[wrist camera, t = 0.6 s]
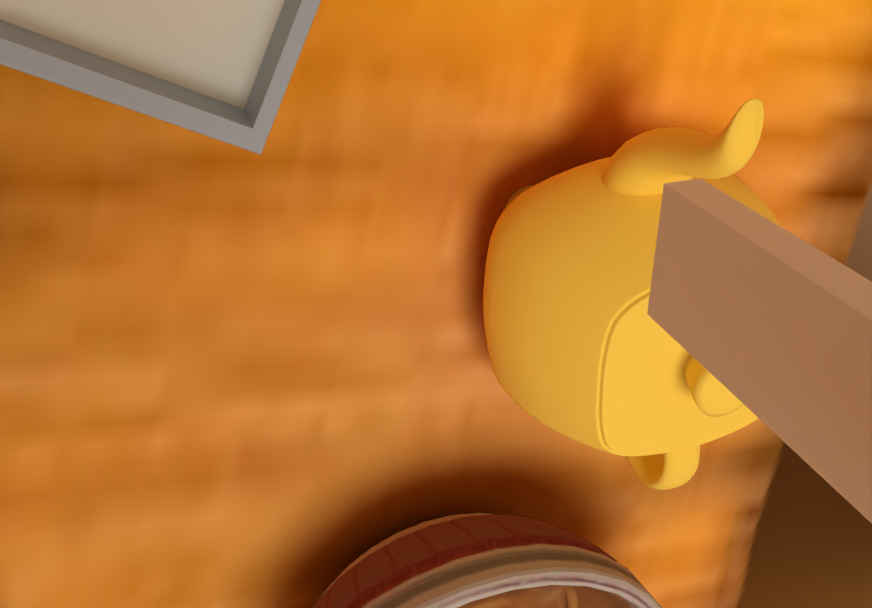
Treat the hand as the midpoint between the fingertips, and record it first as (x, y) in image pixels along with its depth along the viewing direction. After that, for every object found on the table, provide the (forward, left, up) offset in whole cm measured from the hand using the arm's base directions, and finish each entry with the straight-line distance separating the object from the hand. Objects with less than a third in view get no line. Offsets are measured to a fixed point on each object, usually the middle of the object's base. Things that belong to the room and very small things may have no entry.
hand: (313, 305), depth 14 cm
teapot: (+21, -2, -23) cm, 31 cm away
